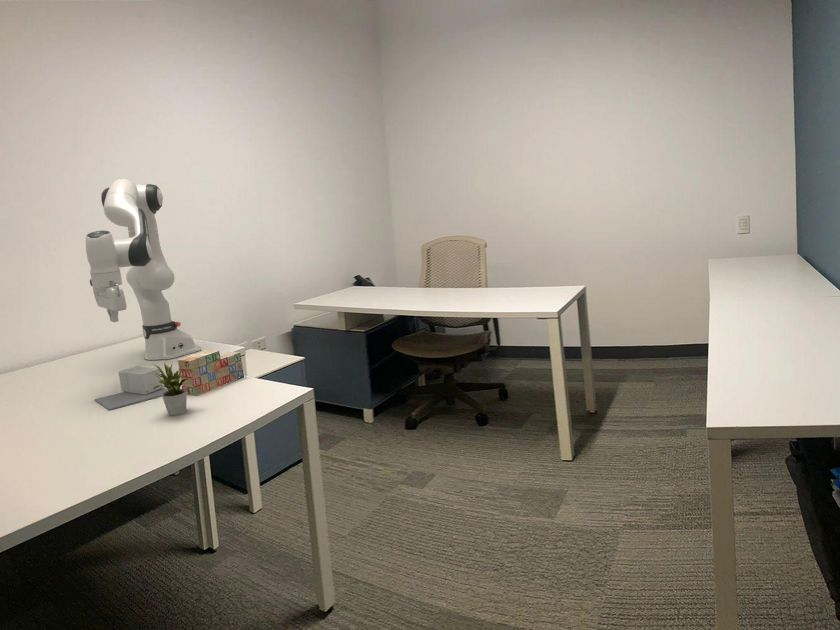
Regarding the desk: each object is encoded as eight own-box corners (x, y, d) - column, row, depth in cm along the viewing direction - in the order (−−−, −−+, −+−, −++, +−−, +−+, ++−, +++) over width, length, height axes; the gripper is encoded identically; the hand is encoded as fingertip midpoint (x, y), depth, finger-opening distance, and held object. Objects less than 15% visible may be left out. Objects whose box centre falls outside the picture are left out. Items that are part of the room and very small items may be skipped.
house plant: (137, 419, 183) (127, 366, 180) (170, 403, 196) (162, 353, 192) (175, 422, 178) (166, 368, 175) (207, 406, 190) (199, 355, 187)
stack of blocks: (232, 375, 223) (227, 342, 220) (244, 377, 219) (239, 343, 217) (182, 394, 205) (177, 358, 202) (195, 396, 202) (189, 360, 199)
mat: (155, 384, 218) (155, 383, 218) (172, 393, 206) (172, 392, 206) (94, 400, 205) (94, 399, 205) (109, 410, 193) (108, 409, 193)
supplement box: (140, 385, 217) (163, 388, 211) (120, 391, 211) (144, 395, 205) (136, 365, 216) (160, 368, 210) (117, 370, 210) (141, 374, 203)
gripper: (127, 280, 198) (134, 322, 201) (107, 277, 213) (114, 316, 216) (106, 284, 194) (114, 327, 197) (87, 280, 209) (95, 320, 211)
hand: (114, 321), depth 206 cm, fingers closed
